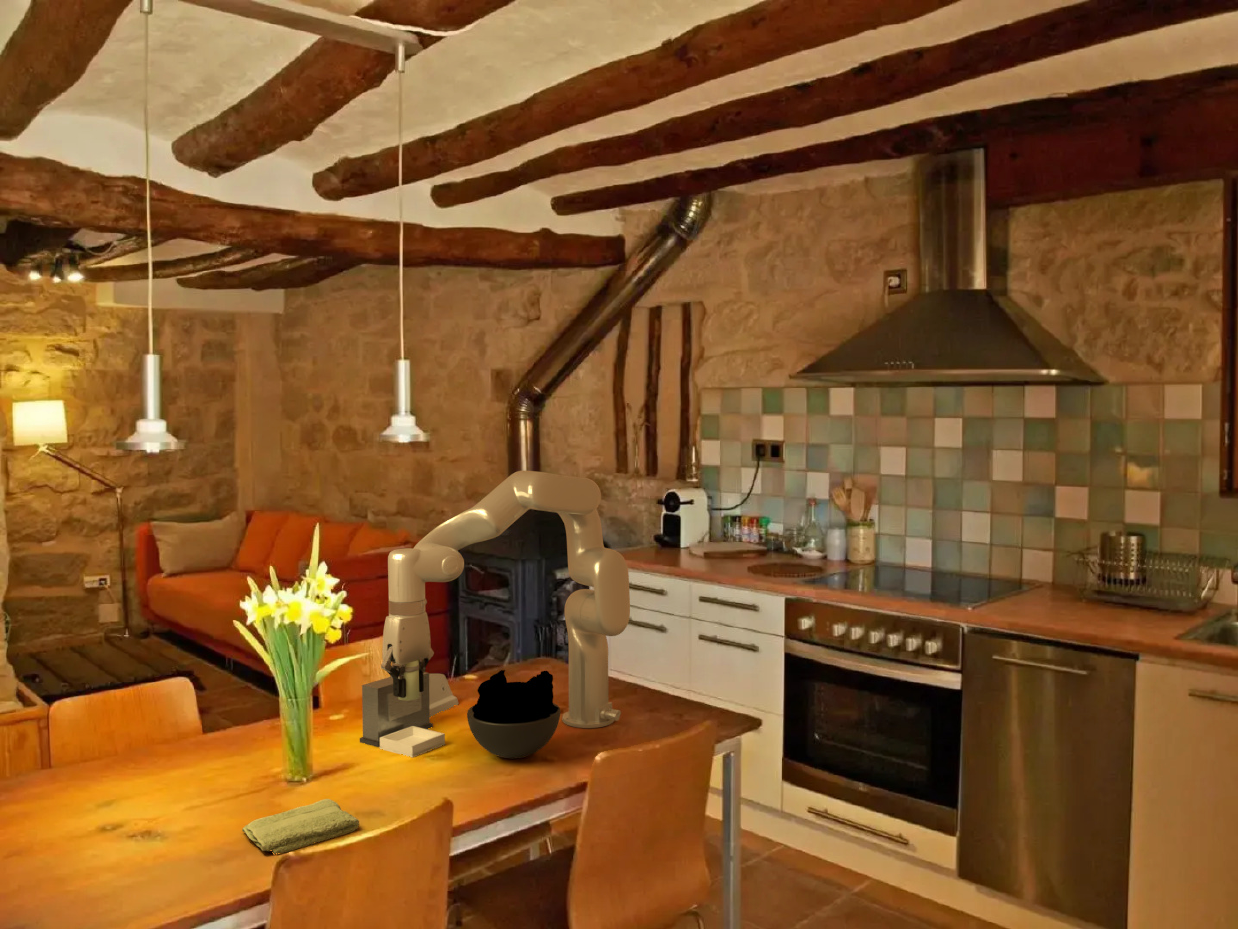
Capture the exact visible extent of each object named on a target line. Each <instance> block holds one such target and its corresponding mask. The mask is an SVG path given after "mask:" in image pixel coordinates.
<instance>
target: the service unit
mask: <svg viewBox="0 0 1238 929" xmlns="http://www.w3.org/2000/svg"><path fill="white" fill-rule="evenodd" d="M429 674H430V673H429V672H427V671H425V672H424V673H423V679H424V691H423V692H419V698H418V699H415V700H408V701H405V700H399V699H398V697H396V696H394V695H393V678H391V677H390V676H388V677H385V678H382V679H378V680H375V681H371V682H367V683H365V684H362V685H361V698H362V704H361V705H362V706H361V707H362V708H361V710H362V736H361V737H359V743H360V744H364V743H365V745H368V746H372V747H376V748H380V737H383V736H386V735H389V734H391V733H394V732H397V731H400V730H403V729H405V728H408V727H411V726H415V727H419V728H423V729H427V730H429V729H428V728H430V729H432V728H434V726H433V725H434V723H433V722H430V720H431V717H430V709H429ZM431 727H432V728H431Z"/></svg>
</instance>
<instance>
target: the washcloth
mask: <svg viewBox="0 0 1238 929" xmlns="http://www.w3.org/2000/svg"><path fill="white" fill-rule="evenodd" d="M359 826H360V820H359V819H358V818H356V817H355V816H353V815H352V814H350V813H349V812H347V811H346V810H342V808H341V806H340V805H339V804H338V802H336V801H334V800H332V799H330V798H325V799H324V798H323V799H321V800H318V801H315V802H314V803H311V804H308V805H302V806H298V807H295V808H292V809H289V810H287V811H283V812H280V813H275V814H273V815H268V816H265V817H264V816H263V817H261V818H257V819H254V820H252V821H250V822H249V823H248V824H245V825H244V826H243V828H242V830H241V832H243V833H244V834H245V835H247V837H248V839H249V840H251V842H252V843H253V842H254V844H255V845H256V846H257V847H259V848H260V850H261V851H263V852H265V851H266V852H270V850H272V852H273V853H274V854H276V853H277V854H278V853H282V854H284V852H285V853H287V852H288V853H289V852H291V851H294V850H297V849H298V850H299V849H301V848H300V847H302V848H304V847H307V846H310V845H309V844H311V845H314V844H317V843H316V842H318V843H321V842H320V841H322V842H324V841H323V840H325V841H327V840H331V839H334V837H335V838H336V837H340V836H344V835H346V834H349V833H353V832H355V831H356V830H357V829H358V828H359ZM330 838H331V839H330ZM314 842H315V843H314ZM313 843H314V844H313ZM278 855H279V854H278Z"/></svg>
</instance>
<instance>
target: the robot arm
mask: <svg viewBox="0 0 1238 929" xmlns="http://www.w3.org/2000/svg"><path fill="white" fill-rule="evenodd" d="M601 499H602V493H601V490H600V487H599V486H598V484H597V483H596V482H595V481H594V480H592V479H590V478H588V477H582V476H581V477H580V476H579V477H578V476H572V475H571V476H570V475H562V474H556V473H551V472H546V471H545V472H544V471H536V470H535V471H534V470H517V471H516V472H514V473H511V474H510V475H509V476H508V477H507V478H506V479H503V481H502V482H500V483H499V485H497V486H496V487H495V488H493V489H492V491H490V492H489V493H488V494H487V495H486V496H484V497H483V498H482V499H481V500H480V501H478V502H477V503H476V504H475V505H473V506H472V507H470V508H469V509H466V510H464V511H462V512H461V513H459V514H457V515H455V516H453V517H451V518H450V519H448V520H446V521H444V522H442V523H441V524H439V525H437V526H436V527H435V528H433V529H432V530H431V531H430V532H428V534H426V535H425V536H424V537H422V539H420V540H419V541H417V543H416V544H415V546H414V547H413V548H411V547H409V548H397V549H394V550H391V551H390V552H389V554H388V556H387V571H388V572H387V575H388V576H387V580H388V615H386V617H385V621H384V626H383V632H382V633H383V634H382V651H381V652H382V662H381V664H380V669H382V670H384V671H385V672H386V673H387V674H389V677H391V678H393V695H394V696H396V697H401V698H405V697H406V679H404V678H403V677H404V671H405V664H407V663H410V662H413V661H416V660H419V692H423V691H424V679H423V673H424V672H427V671H426V670H427V666H428V664H429V662H430V660H431V659H432V657H433V656H434V654H435V652H434V650H433V649H432V647H431V643H432V642H431V630H430V622H429V616H428V613H427V611H426V605H427V603H428V600H427V598H426V583H428V582H431V583H434V582H435V583H447V582H452V581H454V580H456V579H457V578H459V576H460V575H462V573H463V571H464V568H465V559H464V558H463V556H462V554H461V553H460V552H459V550H461V549H463V548H466V547H467V546H469V545H473V544H477V543H480V542H484V541H485V542H486V541H488V540H491V539H492V540H493V539H495V538H496V537H499V536H501V535H502V534H503V533H504V532H505V531H506V530H507V529H508V528H509V527H510V526H511V525H513V524H514V522H516V521H517V520H518V519H520V517H522V516H523V515H524V514H525V513H526V512H527V511H529V510H536V511H544V512H550V513H556V514H558V515H559V517H560V518H561V520H562V522H563V523H564V528H565V534H566V549H567V550H566V551H567V568H568V574H569V577H570V579H571V580H572V581H574V582H575V583H577V584H580V585H584V586H586V587H587V586H588V587H592V588H594V589H588V588H583V589H578V590H575V591H573V592H572V593H571V594H570V595H569V596H568V598H567V599H566V601H565V603H564V604H565V605H564V610H563V611H564V619H565V626H566V630H567V639H568V640H567V641H568V642H567V643H568V711H566V712H564V713H563V714H562V717H561V719H562V720H561V721H562V722H563V724H565V725H566V726H568V727H569V726H570V727H573V728H580V729H597V728H602V727H606V726H609V725H612V724H613V723H614V722H615V721H617V722H618V721H619V720H620V718H621V714H622V712H621V710H620V709H614V708H613V702H612V701H611V702H610V701H609V644H608V639H607V637H616V636H618V635H620V634H622V633H623V632H624V631H625V630H626V628H627V626H628V625H629V621H630V617H631V616H630V615H631V602H630V601H631V600H630V599H631V598H630V597H631V595H630V578H629V577H630V575H629V568H628V564H627V562H626V559H625V557H624V555H622V554H621V553H620V552H618V550H614V549H612V548H609V547H608V548H607V547H605V546H604V538H603V527H602V521H601V518H600V515H599V512H598V510H597V509H598V507H599V506H600V504H601ZM397 666H399V671H398V670H397Z"/></svg>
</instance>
